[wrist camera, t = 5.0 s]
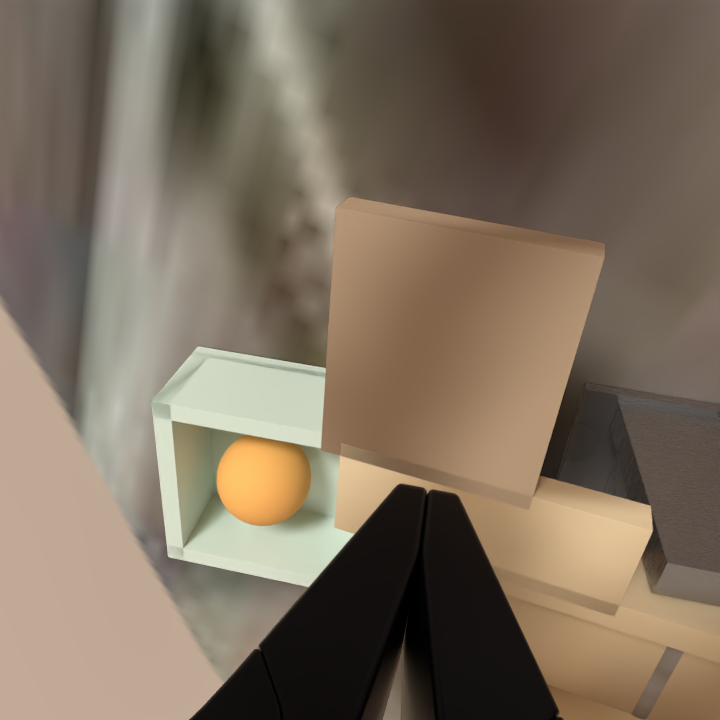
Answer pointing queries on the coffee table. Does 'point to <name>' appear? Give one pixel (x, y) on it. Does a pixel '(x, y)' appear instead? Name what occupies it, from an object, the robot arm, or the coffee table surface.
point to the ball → (263, 480)
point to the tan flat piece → (503, 445)
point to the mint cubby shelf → (216, 434)
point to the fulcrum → (656, 478)
